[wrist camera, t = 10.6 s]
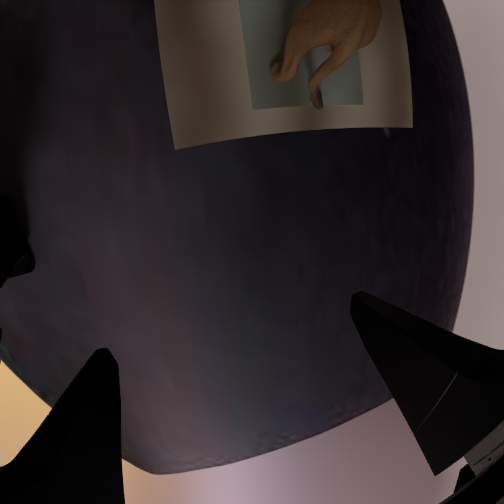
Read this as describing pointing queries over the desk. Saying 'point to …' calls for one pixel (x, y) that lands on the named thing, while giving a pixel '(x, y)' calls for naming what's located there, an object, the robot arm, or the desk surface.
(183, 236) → the desk surface
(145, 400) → the desk surface
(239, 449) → the desk surface
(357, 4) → the lion figurine
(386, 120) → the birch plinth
